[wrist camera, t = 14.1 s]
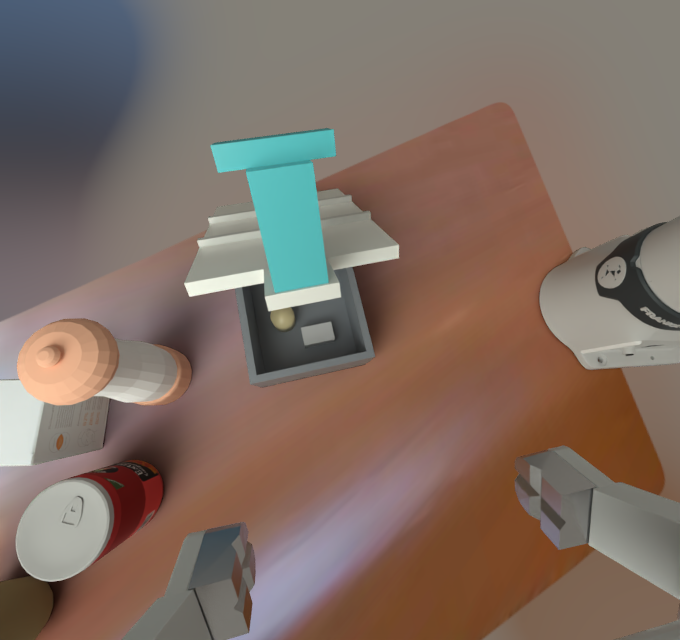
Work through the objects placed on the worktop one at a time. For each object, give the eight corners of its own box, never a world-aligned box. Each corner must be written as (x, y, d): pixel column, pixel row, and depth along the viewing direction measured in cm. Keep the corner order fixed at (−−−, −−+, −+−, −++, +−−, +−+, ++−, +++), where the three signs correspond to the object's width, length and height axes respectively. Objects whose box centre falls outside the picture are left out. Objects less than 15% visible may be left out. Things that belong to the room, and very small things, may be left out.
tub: (333, 234, 49) (336, 202, 41) (364, 364, 44) (375, 356, 37) (239, 250, 47) (223, 220, 39) (262, 387, 43) (250, 384, 35)
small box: (68, 383, 41) (-14, 377, 31) (114, 383, 42) (48, 377, 31) (54, 451, 39) (-37, 468, 29) (103, 450, 40) (30, 466, 29)
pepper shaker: (131, 354, 43) (-11, 317, 24) (189, 343, 43) (94, 300, 25) (135, 410, 41) (-14, 417, 22) (194, 398, 42) (98, 395, 23)
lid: (338, 196, 41) (330, 116, 36) (421, 281, 20) (428, 119, 16) (219, 215, 39) (194, 133, 35) (177, 329, 19) (100, 161, 14)
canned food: (168, 456, 40) (115, 476, 29) (162, 529, 38) (102, 579, 27) (103, 459, 39) (24, 481, 29) (93, 534, 37) (4, 586, 27)
